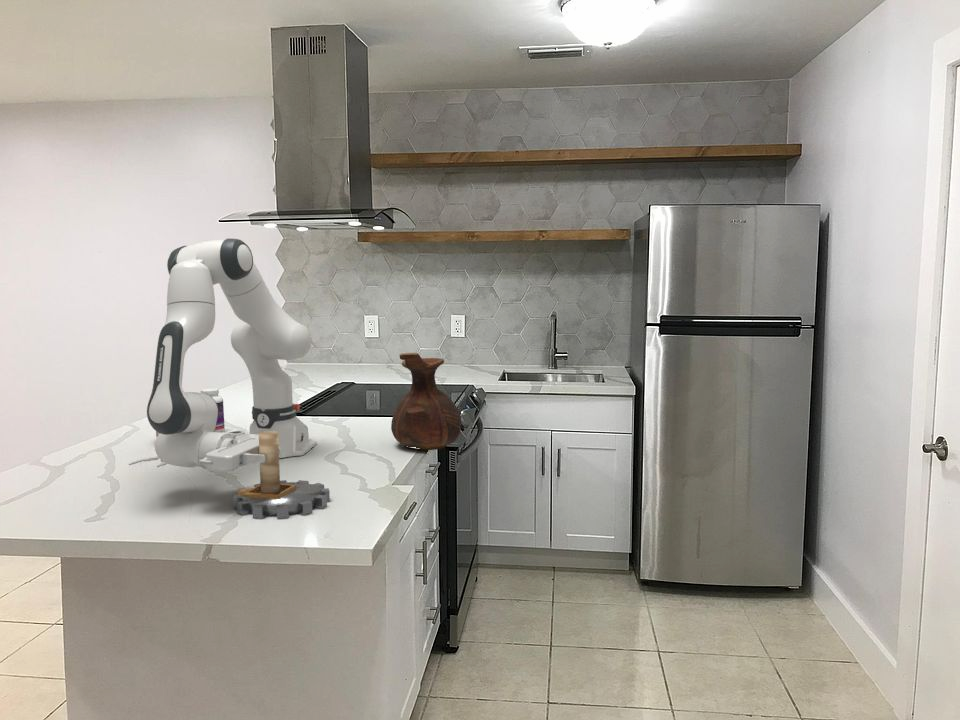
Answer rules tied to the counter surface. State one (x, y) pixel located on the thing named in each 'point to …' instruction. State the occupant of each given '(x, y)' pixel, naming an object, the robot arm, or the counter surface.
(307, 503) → the sprocket
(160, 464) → the pliers
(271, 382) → the robot arm
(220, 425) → the pill bottle
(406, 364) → the jug
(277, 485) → the drive pin
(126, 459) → the counter surface
